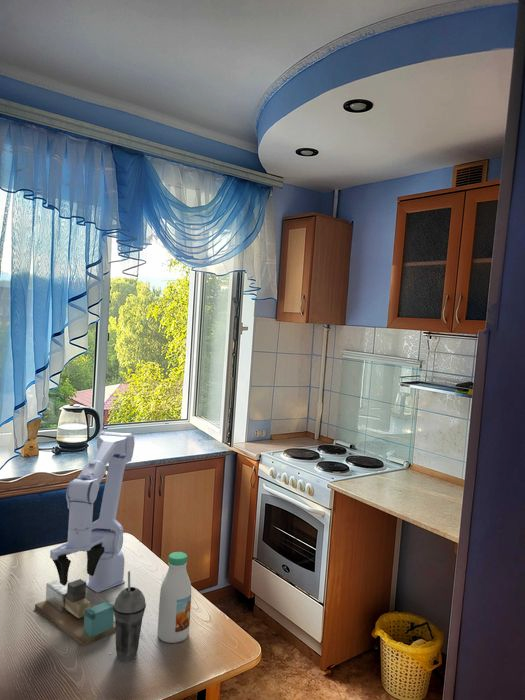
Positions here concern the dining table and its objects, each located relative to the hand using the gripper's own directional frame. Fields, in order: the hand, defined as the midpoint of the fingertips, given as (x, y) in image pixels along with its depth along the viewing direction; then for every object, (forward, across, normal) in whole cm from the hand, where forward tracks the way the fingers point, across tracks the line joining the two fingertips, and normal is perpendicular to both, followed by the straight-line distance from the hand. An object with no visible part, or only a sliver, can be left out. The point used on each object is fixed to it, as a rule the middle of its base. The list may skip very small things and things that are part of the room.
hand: (77, 579), depth 133 cm
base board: (+10, 0, 0) cm, 10 cm away
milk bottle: (+10, +13, -23) cm, 28 cm away
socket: (+9, 0, -11) cm, 14 cm away
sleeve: (+9, 0, +6) cm, 11 cm away
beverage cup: (+10, 0, -22) cm, 24 cm away
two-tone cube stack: (+8, 0, +3) cm, 9 cm away
